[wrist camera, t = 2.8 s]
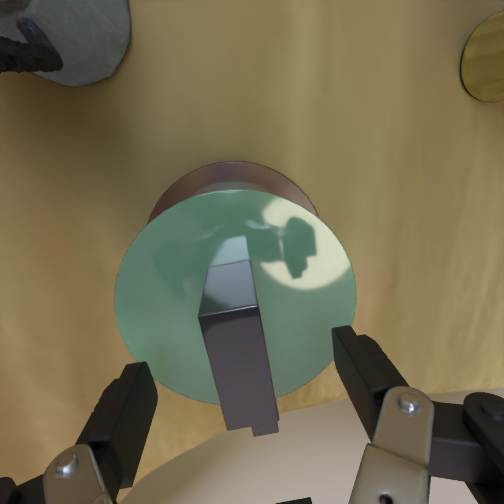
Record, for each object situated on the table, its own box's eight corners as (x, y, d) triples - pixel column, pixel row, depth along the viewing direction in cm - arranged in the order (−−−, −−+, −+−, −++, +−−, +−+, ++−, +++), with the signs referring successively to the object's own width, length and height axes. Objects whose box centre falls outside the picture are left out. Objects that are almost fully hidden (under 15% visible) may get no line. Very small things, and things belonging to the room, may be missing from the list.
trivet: (171, 342, 29) (170, 346, 29) (122, 179, 24) (119, 180, 23) (329, 313, 29) (331, 316, 29) (314, 145, 24) (316, 145, 24)
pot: (136, 191, 24) (2, 245, 10) (304, 162, 24) (406, 173, 10) (191, 380, 30) (156, 575, 16) (324, 356, 30) (404, 528, 16)
